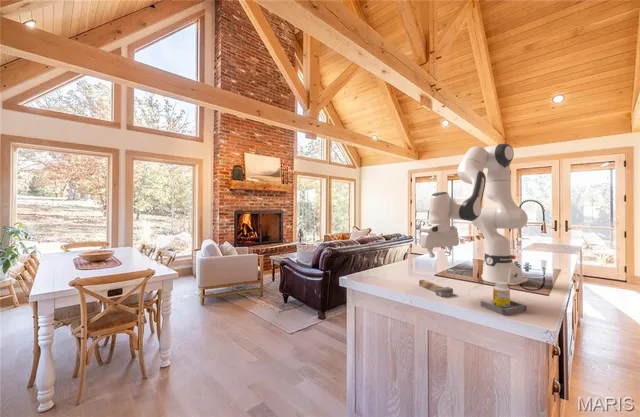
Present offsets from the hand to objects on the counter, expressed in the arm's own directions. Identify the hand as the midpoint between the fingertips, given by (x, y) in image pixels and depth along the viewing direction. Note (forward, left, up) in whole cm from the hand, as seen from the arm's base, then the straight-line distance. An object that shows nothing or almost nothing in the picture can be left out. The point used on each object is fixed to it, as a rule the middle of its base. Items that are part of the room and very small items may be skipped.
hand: (440, 256), depth 131 cm
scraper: (+1, -4, -17) cm, 18 cm away
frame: (-8, +24, -17) cm, 31 cm away
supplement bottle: (-9, +24, -17) cm, 30 cm away
